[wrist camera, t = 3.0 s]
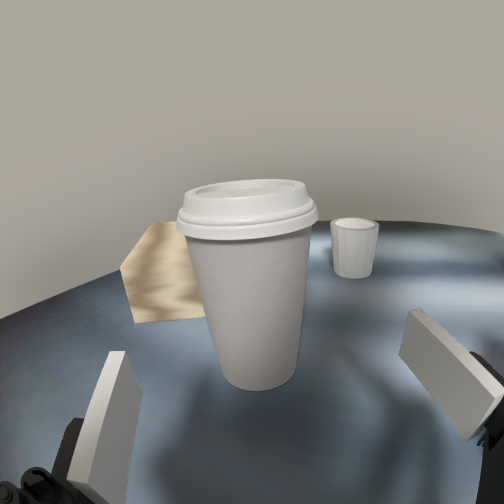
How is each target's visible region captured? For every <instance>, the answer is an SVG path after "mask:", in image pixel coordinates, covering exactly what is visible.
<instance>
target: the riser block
mask: <svg viewBox="0 0 504 504" xmlns="http://www.w3.org/2000/svg"><path fill="white" fill-rule="evenodd" d="M176 222H177V221H174V222H166V223H159V224H151V226H150V227H149V228H148V229H147V231H146V232H145V233H144V235H143V236H142V237H141V239H140V240H139V241H138V243H137V244H136V246H135V247H134V248H133V250H132V251H131V252H130V254H129V255H128V257H127V258H126V259H125V261H124V262H123V264H122V265H121V267H120V270H121V274H122V278H123V282H124V286H125V289H126V293H127V297H128V301H129V304H130V308H131V311H132V315H133V318H134V321H135V323H145V322H158V321H170V320H181V319H192V318H202V317H206V316H205V312H204V308H203V305H202V301H201V297H200V294H199V290H198V286H197V282H196V278H195V275H194V271H193V267H192V263H191V259H190V255H189V251H188V247H187V243H186V239H185V235H183V234H181V233H179V232H178V231H177V230H176Z"/></svg>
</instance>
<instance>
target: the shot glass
mask: <svg viewBox="0 0 504 504" xmlns="http://www.w3.org/2000/svg"><path fill="white" fill-rule="evenodd" d="M330 228H331V240H332V254H333V269H334V272H335V273H336V274H337V275H339V276H341V277H344V278H350V279H360V278H364V277H368V276H369V275H370V274H371V272H372V266H373V261H374V255H375V249H376V243H377V236H378V229H379V224H378V223H377V222H375V221H372V220H369V219H363V218H340V219H336V220H333V221H332V222H331V223H330Z"/></svg>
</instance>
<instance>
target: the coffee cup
mask: <svg viewBox="0 0 504 504" xmlns="http://www.w3.org/2000/svg"><path fill="white" fill-rule="evenodd" d="M318 218H319V215H318V212H317V208H316V206H315V205H314V201H313V200H312V199H311V198H310V197H308V194H307V190H306V187H305V184H304V183H302V182H299V181H293V180H283V179H255V180H241V181H231V182H224V183H217V184H211V185H206V186H202V187H198V188H195V189H192V190H189V191H188V192H186V193H185V195H184V202H183V207H182V208H181V209H180V210H179V213H178V217H177V222H176V230H177V231H178V232H179V233H181V234H183V235H185V239H186V243H187V247H188V251H189V255H190V259H191V263H192V267H193V271H194V275H195V278H196V282H197V286H198V290H199V294H200V297H201V301H202V305H203V308H204V312H205V316H206V319H207V323H208V326H209V330H210V333H211V337H212V340H213V344H214V347H215V351H216V354H217V357H218V361H219V364H220V367H221V370H222V373H223V376H224V377H225V379H226V380H227V381H228V382H229V383H230V384H232V385H234V386H235V387H238V388H240V389H243V390H248V391H265V390H270V389H273V388H276V387H279V386H281V385H282V384H284V383H286V382H287V381H288V380H289V379H290V378H291V377H292V376H293V374H294V372H295V370H296V365H297V358H298V351H299V343H300V334H301V326H302V317H303V308H304V299H305V289H306V279H307V269H308V258H309V247H310V235H311V225H312V224H314V223H315V222H316V221H317V220H318Z"/></svg>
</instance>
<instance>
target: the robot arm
mask: <svg viewBox="0 0 504 504" xmlns="http://www.w3.org/2000/svg"><path fill="white" fill-rule="evenodd" d="M399 356H400V357H401V358H402V360H403V361H404V362H405V363H406V364H407V366H408V367H409V368H410V369H411V371H412V372H413V373H414V374H415V376H416V377H417V378H418V380H419V381H420V382H421V383H422V385H423V386H424V387H425V388H426V390H427V391H428V392H429V394H430V395H431V396H432V397H433V399H434V400H435V401H436V403H437V404H438V405H439V407H440V408H441V409H442V411H443V412H444V413H445V415H446V416H447V417H448V419H449V420H450V421H451V423H452V424H453V425H454V427H455V428H456V429H457V431H458V432H459V433H460V435H461V436H462V438H463V439H464V440H465V442H468V441H469V440H471V439H472V438H474V437H475V436H477V435H478V434H479V433H480V431H481V430H482V428H483V427H484V426H485V427H486V429H487V430H486V432H485V433H484V434H483V436H482V437H481V438H480V440H479V441H478V443H477V446H479V445H480V444H481V442H482V441H483V440H484V443H483V444H482V446H484V448H483V459H482V468H481V475H480V482H479V488H478V494H477V499H476V504H504V378H503V377H502V376H501V375H500V374H499V373H498V372H497V371H496V370H495V369H493V367H492V366H491V365H490V364H487V362H486V361H485V360H484V359H483V358H482V357H481V356H480V355H478V354H476V353H474V352H472V351H471V352H468V351H467V350H466V349H465V348H464V347H463V346H462V345H461V344H460V343H458V342H457V341H456V340H455V339H454V338H453V337H452V336H451V335H450V334H449V333H448V332H447V331H446V330H444V329H443V328H442V327H441V326H440V325H439V324H438V323H437V322H436V321H435V320H433V319H432V318H431V317H430V316H429V315H428V314H427V313H426V312H425V311H423V310H422V309H421V308H419V309H415V310H411V311H409V313H408V318H407V322H406V327H405V331H404V335H403V339H402V343H401V347H400V351H399ZM142 396H143V394H142V391H141V389H140V387H139V384H138V382H137V380H136V377H135V375H134V372H133V370H132V367H131V364H130V362H129V359H128V357H127V354H126V351H110V353H109V355H108V357H107V360H106V362H105V365H104V367H103V370H102V373H101V375H100V378H99V380H98V383H97V386H96V388H95V391H94V394H93V396H92V399H91V402H90V405H89V408H88V410H87V413H86V416H85V419H82V418H74V419H73V420H72V421H71V422H70V423H69V425H68V426H67V427H66V430H65V433H64V436H63V439H62V441H61V444H60V446H61V447H59V450H58V453H57V456H56V459H55V463H54V466H53V469H52V472H51V474H50V473H49V472H48V471H47V470H45V469H43V468H40V467H33V468H30V469H28V470H27V471H25V473H24V474H23V476H22V478H21V489H18V488H17V487H16V486H15V485H14V484H12V483H10V482H8V481H2V482H0V504H125V501H126V493H127V485H128V477H129V470H130V463H131V457H132V450H133V444H134V438H135V432H136V427H137V421H138V416H139V411H140V406H141V401H142Z"/></svg>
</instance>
